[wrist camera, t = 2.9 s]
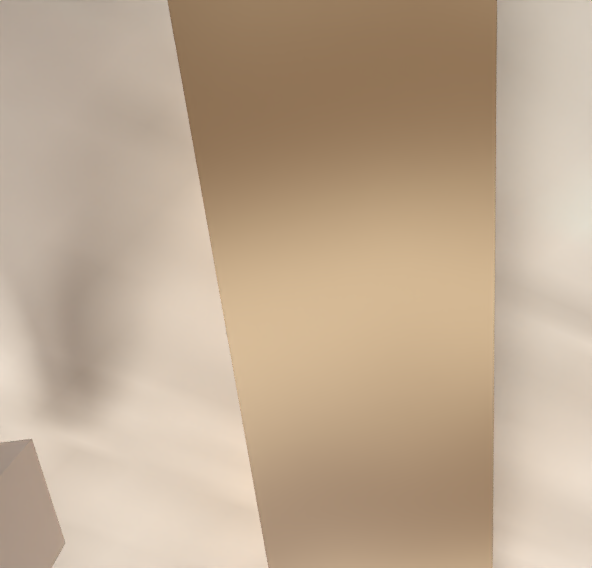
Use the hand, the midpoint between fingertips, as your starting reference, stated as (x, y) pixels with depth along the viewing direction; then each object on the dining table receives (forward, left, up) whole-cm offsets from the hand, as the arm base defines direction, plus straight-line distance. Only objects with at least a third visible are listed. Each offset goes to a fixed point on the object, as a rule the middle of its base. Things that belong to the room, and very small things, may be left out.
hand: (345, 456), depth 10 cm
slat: (0, 0, -2) cm, 2 cm away
